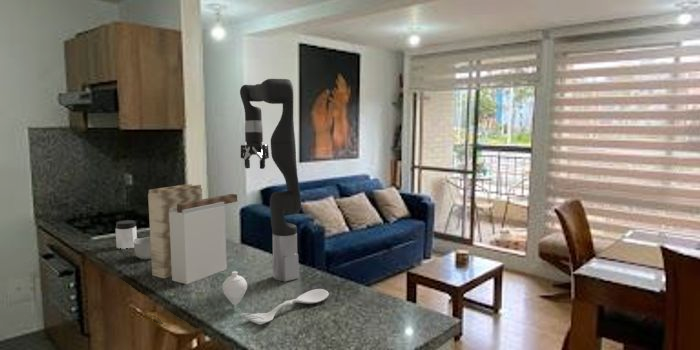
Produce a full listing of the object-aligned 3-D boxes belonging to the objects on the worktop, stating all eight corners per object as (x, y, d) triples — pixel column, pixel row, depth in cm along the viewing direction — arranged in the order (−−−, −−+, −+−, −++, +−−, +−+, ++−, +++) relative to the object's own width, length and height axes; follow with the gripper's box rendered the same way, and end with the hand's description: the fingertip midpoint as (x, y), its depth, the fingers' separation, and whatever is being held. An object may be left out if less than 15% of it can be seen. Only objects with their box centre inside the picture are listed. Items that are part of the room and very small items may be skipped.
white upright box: (212, 266, 191) (210, 200, 188) (226, 269, 187) (224, 202, 184) (172, 280, 174) (168, 208, 170) (186, 284, 170) (183, 210, 166)
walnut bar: (232, 200, 195) (231, 193, 194) (237, 201, 193) (237, 194, 193) (177, 212, 171) (176, 204, 170) (182, 213, 169) (182, 204, 169)
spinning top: (221, 305, 150) (220, 269, 149) (245, 302, 153) (244, 266, 152) (224, 314, 143) (223, 277, 142) (249, 310, 146) (248, 274, 145)
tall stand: (193, 261, 196) (190, 183, 193) (204, 264, 193) (201, 184, 189) (152, 275, 179) (147, 189, 175) (164, 278, 176) (160, 191, 172)
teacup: (165, 257, 203) (164, 239, 202) (140, 263, 195) (139, 244, 194) (151, 251, 212) (150, 234, 211) (127, 256, 204) (126, 238, 203)
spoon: (239, 324, 137) (239, 312, 137) (314, 293, 162) (314, 283, 161) (259, 332, 131) (258, 321, 131) (334, 299, 156) (334, 289, 155)
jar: (117, 250, 214) (116, 224, 213) (115, 246, 221) (114, 221, 219) (138, 247, 219) (137, 222, 217) (135, 243, 226) (134, 219, 224)
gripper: (235, 131, 202) (236, 168, 203) (260, 130, 195) (261, 169, 196) (247, 131, 208) (248, 167, 210) (272, 131, 201) (273, 168, 202)
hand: (254, 168), depth 203 cm, fingers open, 8 cm apart
